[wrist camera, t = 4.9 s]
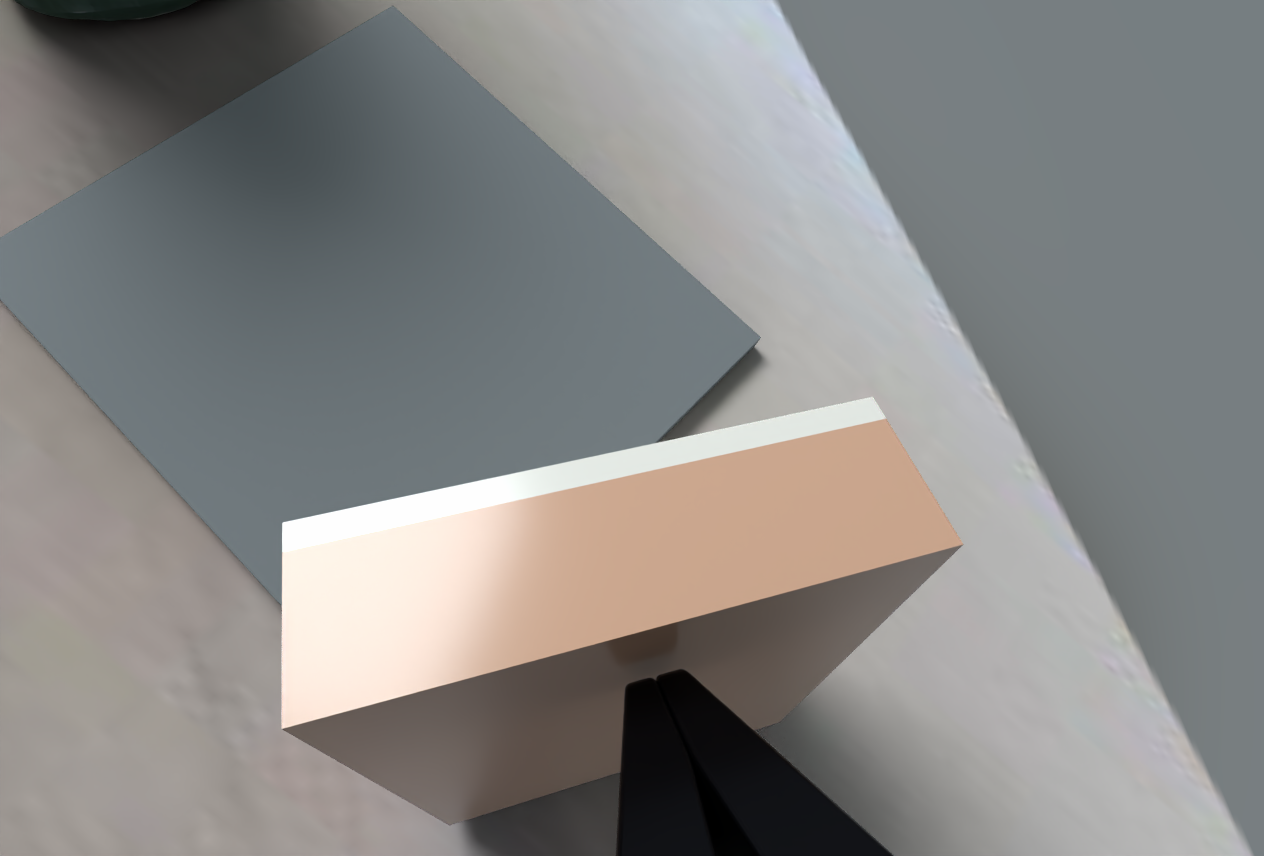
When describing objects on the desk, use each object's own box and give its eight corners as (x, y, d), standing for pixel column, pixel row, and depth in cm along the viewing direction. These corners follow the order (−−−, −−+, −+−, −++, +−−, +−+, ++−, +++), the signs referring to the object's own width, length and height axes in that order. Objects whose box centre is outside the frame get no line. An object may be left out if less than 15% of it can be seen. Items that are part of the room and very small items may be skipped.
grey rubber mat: (754, 346, 20) (760, 337, 20) (387, 712, 16) (382, 714, 16) (396, 21, 22) (392, 5, 22) (-19, 271, 18) (-37, 259, 17)
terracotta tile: (779, 722, 17) (963, 544, 8) (449, 825, 15) (281, 728, 7) (743, 629, 18) (872, 396, 10) (436, 714, 16) (283, 522, 8)
